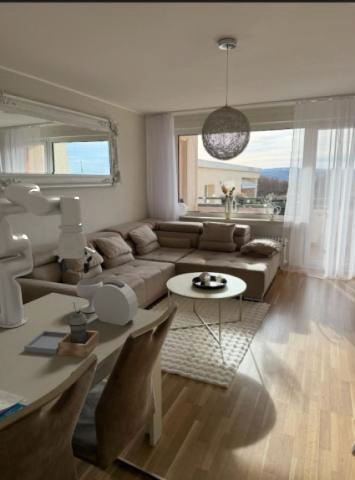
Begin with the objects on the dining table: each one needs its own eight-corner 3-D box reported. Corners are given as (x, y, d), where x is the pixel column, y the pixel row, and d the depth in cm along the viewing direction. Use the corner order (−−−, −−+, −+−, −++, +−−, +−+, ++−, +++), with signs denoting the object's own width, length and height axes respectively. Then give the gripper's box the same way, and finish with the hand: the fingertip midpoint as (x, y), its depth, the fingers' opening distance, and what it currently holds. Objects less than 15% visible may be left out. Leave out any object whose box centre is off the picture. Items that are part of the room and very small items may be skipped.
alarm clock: (138, 320, 161) (137, 281, 158) (130, 327, 155) (128, 286, 151) (103, 313, 170) (101, 276, 166) (93, 319, 164) (91, 280, 160)
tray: (24, 351, 135) (24, 346, 134) (44, 335, 148) (43, 330, 148) (56, 354, 132) (55, 349, 132) (73, 337, 146) (73, 332, 145)
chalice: (72, 312, 172) (69, 284, 169) (88, 302, 185) (86, 276, 182) (95, 315, 168) (93, 287, 165) (109, 305, 181) (108, 279, 178)
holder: (58, 354, 132) (57, 343, 131) (73, 340, 143) (72, 329, 142) (87, 357, 130) (86, 345, 129) (99, 342, 141) (99, 331, 140)
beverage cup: (83, 353, 132) (80, 306, 128) (67, 352, 134) (63, 305, 130) (92, 344, 139) (89, 299, 135) (76, 343, 141) (72, 298, 137)
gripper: (45, 230, 125) (49, 273, 129) (88, 230, 122) (91, 275, 126) (56, 226, 133) (59, 268, 136) (97, 227, 129) (99, 270, 133)
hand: (75, 271), depth 131 cm, fingers open, 9 cm apart
